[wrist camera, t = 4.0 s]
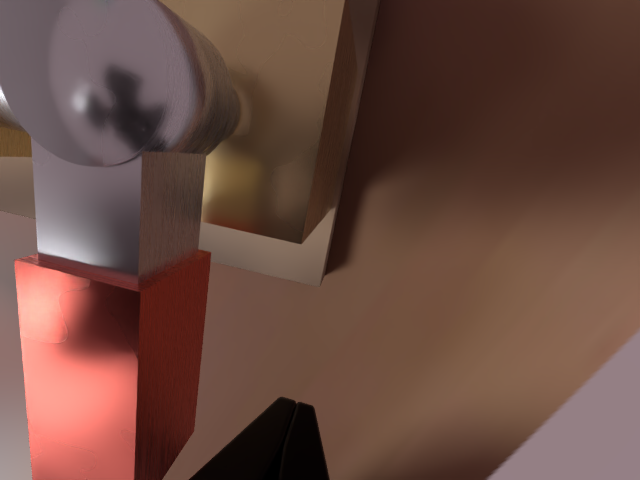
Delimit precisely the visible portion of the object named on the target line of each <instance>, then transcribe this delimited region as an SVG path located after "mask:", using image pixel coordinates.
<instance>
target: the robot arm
mask: <svg viewBox="0 0 640 480" xmlns="http://www.w3.org/2000/svg"><path fill="white" fill-rule="evenodd" d="M189 480H330V479H329V474H328V469H327V465H326V460H325V455H324V451H323V446H322V441H321V437H320V432H319V427H318V422H317V418H316V413H315V409H314V407H313V406H312V405H309V404H305V403H302V402H298V403H297V404H296V401H294V400H292V399H288V398H285V397H279V398H278V399H277V400H276V401H275V402H274V403H272V404H271V405H270V406H269V407H268V408H267V409H266V410H265V411H264V412H263V413H261V414H260V415H259V416H258V417H257V418H256V419H255V420H254V421H253V422H252V423H251V424H249V425H248V426H247V427H246V428H245V429H244V430H243V431H242V432H241V433H240V434H238V435H237V436H236V437H235V438H234V439H233V440H232V441H231V442H230V443H229V444H227V445H226V446H225V447H224V448H223V449H222V450H221V451H220V452H219V453H218V454H216V455H215V456H214V457H213V458H212V459H211V460H210V461H209V462H208V463H207V464H206V465H204V466H203V467H202V468H201V469H200V470H199V471H198V472H197V473H196V474H195V475H193V476H192V477H191V478H190V479H189Z"/></svg>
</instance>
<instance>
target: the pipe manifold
mask: <svg viewBox="0 0 640 480" xmlns="http://www.w3.org/2000/svg"><path fill="white" fill-rule="evenodd" d="M159 1H160V2H162V3H163V4H164V5H166V6H167V7H168V8H169V9H171V10H172V11H173V12H175V13H176V14H177V15H179V16H180V17H181V18H183V19H184V20H185V21H187V22H188V23H189V24H191V25H192V26H193V27H194V28H196V29H197V30H198V31H200V32H201V33H202V34H204V35H205V36H206V37H207V38H208V39H209V40H210V41H211V42H212V43H213V44H214V46H215V47H216V48H217V50H218V51H219V52H220V54H221V56H222V58H223V59H224V61H225V64H226V66H227V68H228V71H229V74H230V77H231V82H232V87H233V111H232V117H231V121H230V124H229V127H228V130H227V132H226V134H225V136H224V138H223V139H222V141H221V142H220V144H219V145H218V146H217V147H216V149H214V150H213V151H212V152H211V153H210V154H209V155H207V156H206V165H205V177H204V189H203V201H202V212H201V222H205V223H209V224H213V225H218V226H222V227H227V228H231V229H235V230H240V231H244V232H249V233H253V234H257V235H262V236H266V237H271V238H275V239H279V240H284V241H288V242H293V243H297V244H302V243H303V242H304V241H305V240H306V238H307V237H308V236H309V235H310V234H311V233H312V231H313V230H314V229H315V228H316V227H317V225H318V224H319V223H320V222H321V221H322V220H323V218H324V217H325V216H326V215H327V214H328V212H329V211H330V210H331V206H332V201H333V196H334V191H335V186H336V181H337V175H338V170H339V165H340V160H341V155H342V150H343V145H344V140H345V135H346V130H347V125H348V120H349V115H350V110H351V105H352V100H353V95H354V90H355V85H356V79H357V74H358V65H357V58H356V51H355V44H354V37H353V30H352V23H351V16H350V9H349V2H348V0H159ZM0 157H32V145H31V136H30V135H29V134H28V133H27V131H26V130H25V129H24V128H23V127H22V125H21V124H20V123H19V121H18V120H17V118H16V117H15V115H14V114H13V112H12V110H11V108H10V106H9V105H8V103H7V100H6V98H5V96H4V94H3V91H2V88H1V85H0Z"/></svg>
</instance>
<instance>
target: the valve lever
mask: <svg viewBox="0 0 640 480" xmlns="http://www.w3.org/2000/svg"><path fill="white" fill-rule="evenodd" d="M0 85H1V88H2V91H3V94H4V96H5V98H6V100H7V103H8V105H9V106H10V108H11V110H12V112H13V114H14V115H15V117H16V118H17V120H18V121H19V123H20V124H21V125H22V127H23V128H24V129H25V130H26V131H27V133H28V134H29V135H30V136H31V145H32V162H33V179H34V195H35V212H36V228H37V244H38V254H35V255H31V256H27V257H23V258H20V259H16V260H15V272H16V284H17V296H18V308H19V320H20V332H21V344H22V357H23V369H24V381H25V393H26V404H27V417H28V430H29V442H30V454H31V466H32V479H33V480H162V479H163V477H164V476H165V474H166V473H167V471H168V470H169V468H170V467H171V465H172V464H173V462H174V461H175V459H176V458H177V456H178V455H179V453H180V452H181V450H182V449H183V447H184V446H185V444H186V443H187V441H188V439H189V438H190V436H191V435H192V433H193V432H194V426H195V416H196V405H197V395H198V385H199V374H200V364H201V354H202V344H203V333H204V323H205V313H206V302H207V292H208V282H209V272H210V261H211V252H208V251H204V250H200V249H198V248H199V236H200V224H201V212H202V201H203V189H204V177H205V165H206V156H207V155H209V154H210V153H211V152H212V151H213V150H214V149H216V147H217V146H218V145H219V144H220V142H221V141H222V139H223V138H224V136H225V134H226V132H227V130H228V127H229V124H230V121H231V117H232V111H233V87H232V82H231V77H230V74H229V71H228V68H227V66H226V64H225V61H224V59H223V58H222V56H221V54H220V52H219V51H218V50H217V48H216V47H215V46H214V44H213V43H212V42H211V41H210V40H209V39H208V38H207V37H206V36H205V35H204V34H202V33H201V32H200V31H198V30H197V29H196V28H194V27H193V26H192V25H191V24H189V23H188V22H187V21H185V20H184V19H183V18H181V17H180V16H179V15H177V14H176V13H175V12H173V11H172V10H171V9H169V8H168V7H167V6H166V5H164V4H163V3H162V2H160V1H159V0H0Z"/></svg>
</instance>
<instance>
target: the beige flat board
mask: <svg viewBox="0 0 640 480" xmlns="http://www.w3.org/2000/svg"><path fill="white" fill-rule="evenodd" d="M380 1H381V0H348V2H349V9H350V16H351V23H352V30H353V37H354V44H355V51H356V58H357V65H358V74H357V79H356V85H355V90H354V95H353V100H352V105H351V110H350V115H349V120H348V125H347V130H346V135H345V140H344V145H343V150H342V155H341V160H340V165H339V170H338V175H337V181H336V186H335V191H334V196H333V201H332V206H331V210H330V211H329V212H328V214H327V215H326V216H325V217H324V218H323V220H322V221H321V222H320V223H319V224H318V225H317V227H316V228H315V229H314V230H313V231H312V233H311V234H310V235H309V236H308V237H307V238H306V240H305V241H304V242H303V243H302V244H297V243H293V242H288V241H284V240H279V239H275V238H271V237H266V236H262V235H257V234H253V233H249V232H244V231H240V230H235V229H231V228H227V227H222V226H218V225H213V224H209V223H205V222H201V224H200V236H199V248H198V249H200V250H204V251H208V252H211V261H212V262H216V263H220V264H224V265H228V266H233V267H237V268H241V269H245V270H249V271H253V272H258V273H262V274H266V275H270V276H274V277H278V278H283V279H287V280H291V281H295V282H299V283H303V284H307V285H312V286H316V287H320V285H321V283H322V281H323V278H324V275H325V270H326V265H327V260H328V256H329V251H330V246H331V241H332V236H333V231H334V226H335V221H336V216H337V211H338V207H339V202H340V197H341V192H342V187H343V182H344V177H345V172H346V167H347V162H348V158H349V153H350V148H351V143H352V138H353V133H354V128H355V123H356V118H357V113H358V109H359V104H360V99H361V94H362V89H363V84H364V79H365V74H366V69H367V65H368V60H369V55H370V50H371V45H372V40H373V35H374V30H375V25H376V20H377V16H378V11H379V6H380ZM0 211H4V212H8V213H12V214H16V215H21V216H25V217H29V218H33V219H36V212H35V195H34V179H33V162H32V157H0Z"/></svg>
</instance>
